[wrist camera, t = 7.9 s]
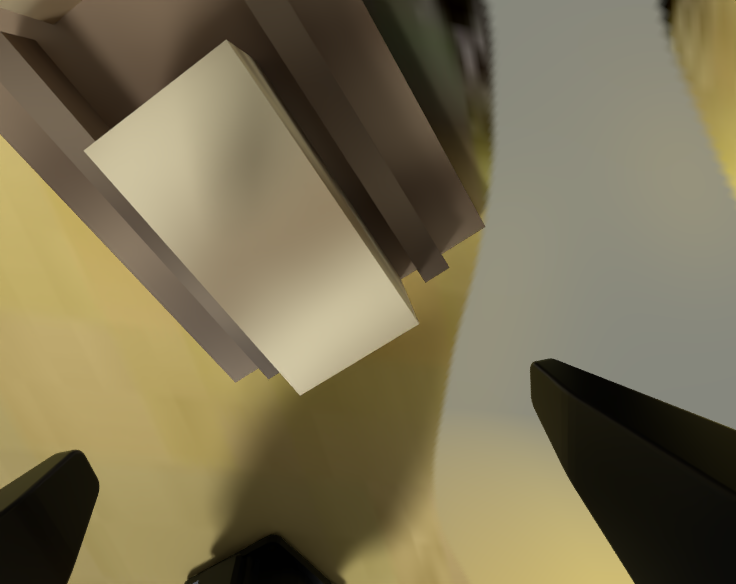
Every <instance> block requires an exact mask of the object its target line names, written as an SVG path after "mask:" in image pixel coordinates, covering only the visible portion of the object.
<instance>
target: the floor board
mask: <svg viewBox="0 0 736 584" xmlns="http://www.w3.org/2000/svg"><path fill="white" fill-rule="evenodd" d="M225 40H228V41H229V42H230V43H232V44H233V45H235V46H236V47H238V48H239V49H240V50H242V51H243V52H245V53H246V54H247V55H249V56H250V57H252V58H253V59H255V60H256V62H257V63H258V65H259V66H260V68H261V69H262V71H263V72H264V74H265V75H266V77H267V78H268V80H269V81H270V83H271V84H272V86H273V87H274V89H275V90H276V92H277V93H278V95H279V96H280V98H281V99H282V101H283V102H284V104H285V105H286V107H287V108H288V110H289V111H290V113H291V114H292V116H293V117H294V119H295V120H296V122H297V123H298V125H299V126H300V128H301V129H302V131H303V132H304V134H305V135H306V137H307V138H308V140H309V141H310V143H311V144H312V146H313V147H314V149H315V150H316V152H317V153H318V155H319V156H320V158H321V159H322V161H323V162H324V164H325V165H326V167H327V168H328V170H329V171H330V173H331V174H332V176H333V177H334V179H335V180H336V182H337V184H338V185H339V187H340V188H341V190H342V191H343V193H344V194H345V196H346V197H347V199H348V200H349V202H350V203H351V205H352V206H353V208H354V209H355V211H356V212H357V214H358V215H359V217H360V218H361V220H362V221H363V223H364V224H365V226H366V227H367V229H368V230H369V232H370V233H371V235H372V236H373V238H374V239H375V241H376V242H377V244H378V245H379V247H380V248H381V250H382V251H383V253H384V254H385V256H386V257H387V259H388V260H389V262H390V263H391V265H392V266H393V268H394V269H395V271H396V272H397V274H398V275H399V277H400V278H401V279H402V278H404V277H406V276H407V275H409V274H410V273H412V272H414V271H415V270H418V272H419V273H420V275H421V277H422V278H423V280H424V281H425V283H426V282H427V281H429V280H430V279H432V278H434V277H435V276H437V275H439V274H440V273H442V272H443V271H445V270H447V269H448V268H449V266H448V264H447V263H446V261H445V259H444V258H443V256H442V255H441V254H442V253H444V252H446V251H447V250H449V249H450V248H452V247H454V246H455V245H457V244H458V243H460V242H462V241H463V240H465V239H467V238H468V237H470V236H471V235H473V234H475V233H476V232H478V231H479V230H481V229H483V228H484V227H485V225H484V223H483V222H482V220H481V218H480V216H479V214H478V212H477V211H476V209H475V207H474V205H473V203H472V201H471V200H470V198H469V196H468V194H467V192H466V190H465V189H464V187H463V185H462V183H461V181H460V179H459V178H458V176H457V174H456V172H455V170H454V168H453V167H452V165H451V163H450V161H449V159H448V157H447V155H446V154H445V152H444V150H443V148H442V146H441V144H440V143H439V141H438V139H437V137H436V135H435V133H434V132H433V130H432V128H431V126H430V124H429V122H428V121H427V119H426V117H425V115H424V113H423V111H422V110H421V108H420V106H419V104H418V102H417V100H416V99H415V97H414V95H413V93H412V91H411V89H410V87H409V86H408V84H407V82H406V80H405V78H404V76H403V75H402V73H401V71H400V69H399V67H398V65H397V64H396V62H395V60H394V58H393V56H392V54H391V53H390V51H389V49H388V47H387V45H386V43H385V42H384V40H383V38H382V36H381V34H380V32H379V31H378V29H377V27H376V25H375V23H374V21H373V19H372V18H371V16H370V14H369V12H368V10H367V8H366V7H365V5H364V3H363V1H362V0H0V134H1V135H2V137H3V138H4V139H5V140H6V141H7V142H8V143H9V144H10V145H11V146H12V147H13V148H14V149H15V150H16V151H17V152H18V153H19V154H20V156H21V157H22V158H23V159H24V160H25V161H26V162H27V163H28V164H29V165H30V166H31V167H32V168H33V169H34V170H35V171H36V172H37V173H38V175H39V176H40V177H41V178H42V179H43V180H44V181H45V182H46V183H47V184H48V185H49V186H50V187H51V188H52V189H53V190H54V191H55V192H56V194H57V195H58V196H59V197H60V198H61V199H62V200H63V201H64V202H65V203H66V204H67V205H68V206H69V207H70V208H71V209H72V210H73V211H74V213H75V214H76V215H77V216H78V217H79V218H80V219H81V220H82V221H83V222H84V223H85V224H86V225H87V226H88V227H89V228H90V229H91V231H92V232H93V233H94V234H95V235H96V236H97V237H98V238H99V239H100V240H101V241H102V242H103V243H104V244H105V245H106V246H107V247H108V248H109V250H110V251H111V252H112V253H113V254H114V255H115V256H116V257H117V258H118V259H119V260H120V261H121V262H122V263H123V264H124V265H125V266H126V267H127V269H128V270H129V271H130V272H131V273H132V274H133V275H134V276H135V277H136V278H137V279H138V280H139V281H140V282H141V283H142V284H143V285H144V286H145V288H146V289H147V290H148V291H149V292H150V293H151V294H152V295H153V296H154V297H155V298H156V299H157V300H158V301H159V302H160V303H161V304H162V305H163V307H164V308H165V309H166V310H167V311H168V312H169V313H170V314H171V315H172V316H173V317H174V318H175V319H176V320H177V321H178V322H179V323H180V324H181V326H182V327H183V328H184V329H185V330H186V331H187V332H188V333H189V334H190V335H191V336H192V337H193V338H194V339H195V340H196V341H197V342H198V344H199V345H200V346H201V347H202V348H203V349H204V350H205V351H206V352H207V353H208V354H209V355H210V356H211V357H212V358H213V359H214V360H215V361H216V363H217V364H218V365H219V366H220V367H221V368H222V369H223V370H224V371H225V372H226V373H227V374H228V375H229V376H230V377H231V378H232V379H233V380H234V382H235V383H236V382H237V381H239V380H240V379H242V378H244V377H245V376H247V375H248V374H250V373H252V372H253V371H255V370H256V369H258V368H259V369H260V370H261V371H262V373H263V374H264V375H265V376H266V377H267V378H268V379H270V378H271V377H273V376H275V375H276V374H278V373H279V371H278V370H277V369H276V368H275V367H274V366H273V364H272V363H271V362H270V361H269V360H268V359H267V358H266V357H265V355H264V354H263V353H262V352H261V351H260V350H259V349H258V347H257V346H256V345H255V344H254V343H253V342H252V341H251V340H250V338H249V337H248V336H247V335H246V334H245V333H244V332H243V331H242V329H241V328H240V327H239V326H238V325H237V324H236V323H235V321H234V320H233V319H232V318H231V317H230V316H229V315H228V314H227V312H226V311H225V310H224V309H223V308H222V307H221V306H220V305H219V303H218V302H217V301H216V300H215V299H214V298H213V297H212V295H211V294H210V293H209V292H208V291H207V290H206V289H205V288H204V286H203V285H202V284H201V283H200V282H199V281H198V280H197V278H196V277H195V276H194V275H193V274H192V273H191V272H190V271H189V269H188V268H187V267H186V266H185V265H184V264H183V263H182V262H181V260H180V259H179V258H178V257H177V256H176V255H175V254H174V252H173V251H172V250H171V249H170V248H169V247H168V246H167V245H166V243H165V242H164V241H163V240H162V239H161V238H160V237H159V236H158V234H157V233H156V232H155V231H154V230H153V229H152V228H151V226H150V225H149V224H148V223H147V222H146V221H145V220H144V219H143V217H142V216H141V215H140V214H139V213H138V212H137V211H136V209H135V208H134V207H133V206H132V205H131V204H130V203H129V202H128V200H127V199H126V198H125V197H124V196H123V195H122V194H121V193H120V191H119V190H118V189H117V188H116V187H115V186H114V185H113V183H112V182H111V181H110V180H109V179H108V178H107V177H106V176H105V174H104V173H103V172H102V171H101V170H100V169H99V168H98V167H97V165H96V164H95V163H94V162H93V161H92V160H91V159H90V157H89V156H88V155H87V154H86V153H85V152H84V150H85V149H86V148H88V147H89V146H90V145H91V144H93V143H94V142H95V141H97V140H98V139H99V138H100V137H102V136H103V135H104V134H106V133H107V132H108V131H109V130H111V129H112V128H113V127H115V126H116V125H117V124H118V123H120V122H121V121H122V120H124V119H125V118H126V117H127V116H129V115H130V114H131V113H133V112H134V111H135V110H136V109H138V108H139V107H140V106H142V105H143V104H144V103H145V102H147V101H148V100H149V99H151V98H152V97H153V96H154V95H156V94H157V93H158V92H160V91H161V90H162V89H163V88H165V87H166V86H167V85H169V84H170V83H171V82H172V81H174V80H175V79H176V78H178V77H179V76H180V75H181V74H183V73H184V72H185V71H187V70H188V69H189V68H190V67H192V66H193V65H194V64H196V63H197V62H198V61H199V60H201V59H202V58H203V57H205V56H206V55H207V54H208V53H210V52H211V51H212V50H214V49H215V48H216V47H217V46H219V45H220V44H221V43H223V42H224V41H225Z"/></svg>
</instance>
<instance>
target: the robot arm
mask: <svg viewBox="0 0 736 584" xmlns="http://www.w3.org/2000/svg"><path fill="white" fill-rule="evenodd" d="M530 380H531V399H532V403H533V407H534V409H535V411H536V413H537V415H538V417H539V419H540V421H541V424H542V425H543V427H544V430H545V432H546V434H547V436H548V438H549V440H550V442H551V444H552V446H553V448H554V450H555V452H556V454H557V456H558V458H559V460H560V463H561V465H562V466H563V468H564V470H565V472H566V474H567V476H568V478H569V480H570V481H571V483H572V485H573V486H574V488H575V490H576V491H577V493H578V494H579V496H580V497H581V499H582V501H583V502H584V504H585V505H586V507H587V508H588V510H589V512H590V513H591V515H592V516H593V518H594V520H595V521H596V523H597V524H598V526H599V528H600V529H601V531H602V532H603V534H604V535H605V537H606V539H607V540H608V542H609V543H610V545H611V546H612V548H613V550H614V551H615V553H616V554H617V556H618V558H619V559H620V561H621V562H622V564H623V566H624V567H625V569H626V570H627V572H628V574H629V575H630V577H631V578H632V580H633V581H634V583H635V584H736V430H734V429H732V428H730V427H727V426H724V425H722V424H719V423H717V422H714V421H712V420H709V419H707V418H704V417H702V416H699V415H696V414H694V413H691V412H689V411H686V410H684V409H681V408H678V407H676V406H673V405H671V404H668V403H665V402H663V401H661V400H658V399H655V398H653V397H650V396H648V395H645V394H642V393H640V392H637V391H635V390H632V389H630V388H627V387H625V386H622V385H620V384H617V383H614V382H612V381H609V380H607V379H604V378H602V377H599V376H596V375H594V374H591V373H589V372H586V371H584V370H581V369H579V368H576V367H573V366H571V365H568V364H566V363H563V362H561V361H558V360H555V359H545V360H540V361H535V362H533V363H532V364H531V367H530ZM98 493H99V481H98V478H97V476H96V474H95V473H94V471H93V469H92V467H91V465H90V463H89V462H88V460H87V458H86V456H85V454H84V453H83V452H81V451H80V450H71V451H66V452H60V453H57V454H54V455H53V456H51V457H50V458H48V459H46V460H45V461H43V462H42V463H40V464H39V465H37V466H36V467H34V468H33V469H31V470H29V471H28V472H26V473H25V474H23V475H22V476H20V477H19V478H17V479H16V480H14V481H13V482H11V483H9V484H8V485H6V486H5V487H3V488H2V489H0V584H67V583H68V581H69V578H70V576H71V573H72V571H73V568H74V565H75V562H76V559H77V556H78V553H79V550H80V547H81V544H82V541H83V538H84V535H85V533H86V530H87V527H88V524H89V521H90V518H91V515H92V512H93V509H94V506H95V503H96V500H97V497H98ZM185 584H332V583H331V582H329V581H328V580H327V579H326V578H325V577H324V576H323V575H322V574H321V573H320V572H318V571H317V570H316V569H315V568H314V567H313V566H312V565H311V564H310V563H309V562H308V561H306V560H305V559H304V558H303V557H302V556H301V555H300V554H299V553H298V552H297V551H295V550H294V549H293V548H292V547H291V546H290V545H289V544H288V543H287V542H286V541H284V540H283V539H282V538H281V537H280V536H277V535H270V536H267V537H265V538H264V539H262V540H260V541H258V542H256V543H255V544H253V545H251V546H249V547H247V548H245V549H244V550H242V551H240V552H238V553H236V554H234V555H233V556H231V557H229V558H227V559H225V560H223V561H222V562H220V563H218V564H216V565H214V566H213V567H211V568H209V569H207V570H205V571H203V572H202V573H200V574H198V575H196V576H194V577H192V578H191V579H189V580H187V581H186V582H185Z"/></svg>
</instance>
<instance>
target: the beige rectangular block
mask: <svg viewBox="0 0 736 584" xmlns="http://www.w3.org/2000/svg"><path fill="white" fill-rule="evenodd" d="M84 152H85V153H86V154H87V155H88V156H89V157H90V159H91V160H92V161H93V162H94V163H95V164H96V165H97V167H98V168H99V169H100V170H101V171H102V172H103V173H104V174H105V176H106V177H107V178H108V179H109V180H110V181H111V182H112V183H113V185H114V186H115V187H116V188H117V189H118V190H119V191H120V193H121V194H122V195H123V196H124V197H125V198H126V199H127V200H128V202H129V203H130V204H131V205H132V206H133V207H134V208H135V209H136V211H137V212H138V213H139V214H140V215H141V216H142V217H143V219H144V220H145V221H146V222H147V223H148V224H149V225H150V226H151V228H152V229H153V230H154V231H155V232H156V233H157V234H158V236H159V237H160V238H161V239H162V240H163V241H164V242H165V243H166V245H167V246H168V247H169V248H170V249H171V250H172V251H173V252H174V254H175V255H176V256H177V257H178V258H179V259H180V260H181V262H182V263H183V264H184V265H185V266H186V267H187V268H188V269H189V271H190V272H191V273H192V274H193V275H194V276H195V277H196V278H197V280H198V281H199V282H200V283H201V284H202V285H203V286H204V288H205V289H206V290H207V291H208V292H209V293H210V294H211V295H212V297H213V298H214V299H215V300H216V301H217V302H218V303H219V305H220V306H221V307H222V308H223V309H224V310H225V311H226V312H227V314H228V315H229V316H230V317H231V318H232V319H233V320H234V321H235V323H236V324H237V325H238V326H239V327H240V328H241V329H242V331H243V332H244V333H245V334H246V335H247V336H248V337H249V338H250V340H251V341H252V342H253V343H254V344H255V345H256V346H257V347H258V349H259V350H260V351H261V352H262V353H263V354H264V355H265V357H266V358H267V359H268V360H269V361H270V362H271V363H272V364H273V366H274V367H275V368H276V369H277V370H278V371H279V372H280V374H281V375H282V376H283V377H284V378H285V379H286V380H287V381H288V383H289V384H290V385H291V386H292V387H293V388H294V389H295V390H296V392H297V393H298V394H299V395H302V394H304V393H305V392H307V391H309V390H310V389H312V388H314V387H315V386H317V385H319V384H320V383H322V382H324V381H325V380H327V379H329V378H330V377H332V376H334V375H335V374H337V373H339V372H340V371H342V370H344V369H345V368H347V367H349V366H350V365H352V364H354V363H355V362H357V361H358V360H360V359H362V358H363V357H365V356H367V355H368V354H370V353H372V352H373V351H375V350H377V349H378V348H380V347H382V346H383V345H385V344H387V343H388V342H390V341H392V340H393V339H395V338H397V337H398V336H400V335H402V334H403V333H405V332H407V331H408V330H410V329H412V328H413V327H415V326H417V325H418V324H419V322H418V320H417V317H416V315H415V312H414V310H413V307H412V305H411V302H410V300H409V298H408V295H407V293H406V290H405V288H404V285H403V283H402V280H401V278H400V277H399V275H398V274H397V272H396V271H395V269H394V268H393V266H392V265H391V263H390V262H389V260H388V259H387V257H386V256H385V254H384V253H383V251H382V250H381V248H380V247H379V245H378V244H377V242H376V241H375V239H374V238H373V236H372V235H371V233H370V232H369V230H368V229H367V227H366V226H365V224H364V223H363V221H362V220H361V218H360V217H359V215H358V214H357V212H356V211H355V209H354V208H353V206H352V205H351V203H350V202H349V200H348V199H347V197H346V196H345V194H344V193H343V191H342V190H341V188H340V187H339V185H338V184H337V182H336V180H335V179H334V177H333V176H332V174H331V173H330V171H329V170H328V168H327V167H326V165H325V164H324V162H323V161H322V159H321V158H320V156H319V155H318V153H317V152H316V150H315V149H314V147H313V146H312V144H311V143H310V141H309V140H308V138H307V137H306V135H305V134H304V132H303V131H302V129H301V128H300V126H299V125H298V123H297V122H296V120H295V119H294V117H293V116H292V114H291V113H290V111H289V110H288V108H287V107H286V105H285V104H284V102H283V101H282V99H281V98H280V96H279V95H278V93H277V92H276V90H275V89H274V87H273V86H272V84H271V83H270V81H269V80H268V78H267V77H266V75H265V74H264V72H263V71H262V69H261V68H260V66H259V65H258V63H257V62H256V60H255V59H253V58H252V57H250V56H249V55H247V54H246V53H245V52H243V51H242V50H240V49H239V48H238V47H236V46H235V45H233V44H232V43H230V42H229V41H228V40H225V41H224V42H223V43H221V44H220V45H219V46H217V47H216V48H215V49H214V50H212V51H211V52H210V53H208V54H207V55H206V56H205V57H203V58H202V59H201V60H199V61H198V62H197V63H196V64H194V65H193V66H192V67H190V68H189V69H188V70H187V71H185V72H184V73H183V74H181V75H180V76H179V77H178V78H176V79H175V80H174V81H172V82H171V83H170V84H169V85H167V86H166V87H165V88H163V89H162V90H161V91H160V92H158V93H157V94H156V95H154V96H153V97H152V98H151V99H149V100H148V101H147V102H145V103H144V104H143V105H142V106H140V107H139V108H138V109H136V110H135V111H134V112H133V113H131V114H130V115H129V116H127V117H126V118H125V119H124V120H122V121H121V122H120V123H118V124H117V125H116V126H115V127H113V128H112V129H111V130H109V131H108V132H107V133H106V134H104V135H103V136H102V137H100V138H99V139H98V140H97V141H95V142H94V143H93V144H91V145H90V146H89V147H88V148H86V149H85V150H84Z"/></svg>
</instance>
